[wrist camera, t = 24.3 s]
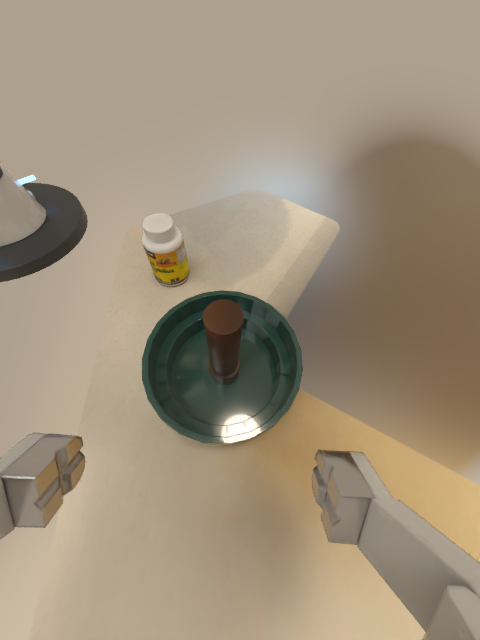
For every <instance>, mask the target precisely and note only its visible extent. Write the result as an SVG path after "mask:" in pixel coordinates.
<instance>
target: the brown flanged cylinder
mask: <svg viewBox="0 0 480 640" xmlns="http://www.w3.org/2000/svg"><path fill="white" fill-rule="evenodd" d="M243 321H244V314H243V311H242V309H241V307H240V306H239V305H238V304H236V303H235V302H233V301H230V300H224V299H222V300H217V301H214V302H212V303H210V304H209V305H208V306H207V307H206V309H205V310H204V313H203V322H204V328H205V333H206V339H207V344H208V350H209V356H210V359H209V369H210V374H211V377H212V379H213V380H214V381H215V382H216V383H218V384H221V385H228V384H231V383H233V382H234V381H235V380H236V379H237V377H238V374H239V369H240V359H239V351H240V343H241V336H242V328H243Z"/></svg>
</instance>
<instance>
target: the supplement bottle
mask: <svg viewBox="0 0 480 640" xmlns="http://www.w3.org/2000/svg"><path fill="white" fill-rule="evenodd" d="M142 227H143V230H144V232H143V234H142V244H143V246H144V249H145V251H146V254H147V256H148V259H149V261H150V264H151V266H152V269H153V271H154V274H155V276H156V278H157V280H158V281H159V282H160V283H161V284H163V285H166V286H177V285H180V284H182V283H183V282H185V281H186V279H187V278H188V276H189V266H188V261H187V256H186V251H185V246H184V241H183V236H182V233H181V231H180V230H179V229H178V228H177V227H175V226H174V223H173V220H172V218H171V217H170V216H168V215H166V214H162V213H156V214H151V215H149V216H147V217H146V218H145V219H144V220H143V222H142Z"/></svg>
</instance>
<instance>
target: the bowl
mask: <svg viewBox="0 0 480 640" xmlns="http://www.w3.org/2000/svg"><path fill="white" fill-rule="evenodd" d="M222 299H224V300H230V301H233V302H235V303H236V304H238V305H239V306H240V307H241V309H242V311H243V314H244V321H243V328H242V336H241V343H240V351H239V359H240V369H239V374H238V377H237V379H236V380H235V381H234V382H233V383H231V384H228V385H221V384H218V383H216V382H215V381H214V380H213V379H212V377H211V374H210V369H209V359H210V356H209V350H208V344H207V339H206V333H205V328H204V322H203V313H204V310H205V309H206V307H207V306H208V305H209V304H210V303H212V302H214V301H217V300H222ZM302 370H303V369H302V357H301V349H300V346H299V343H298V341H297V338H296V335H295V333H294V331H293V329H292V328H291V327H290V325H289V324H288V322H287V321H286V319H285V318H284V317H283V316H282V315H281V314H280V313H279V312H278V311H277V310H276V309H274V308H273V307H272V306H271V305H269V304H268V303H266V302H264V301H262V300H260V299H259V298H257V297H254V296H251V295H247V294H244V293H241V292H234V291H214V292H207V293H202V294H199V295H196V296H194V297H191V298H188V299H186V300H184V301H183V302H181V303H180V304H178V305H176V306H175V307H173V308H172V309H170V310H169V311H168V312H167V313H166V314H165V315H164V316H163V317H162V318H161V319H160V320H159V322H158V323H157V324H156V326H155V328H154V329H153V331H152V333H151V334H150V336H149V338H148V340H147V343H146V347H145V350H144V354H143V357H142V381H143V384H144V387H145V391H146V394H147V397H148V400H149V402H150V403H151V405H152V406H153V408H154V409H155V411H156V412H157V414H158V415H159V417H160V418H161V419H162V420H163V421H164V422H165V423H167V424H168V425H169V426H170V427H172V428H173V429H174V430H175V431H177V432H178V433H179V434H181V435H184V436H186V437H189V438H192V439H194V440H197V441H200V442H202V443H206V444H213V445H231V444H236V443H240V442H244V441H247V440H250V439H252V438H254V437H256V436H257V435H259V434H261V433H263V432H264V431H266V430H268V429H269V428H271V427H273V426H274V425H275V424H276V423H277V422H278V421H279V420H280V419H281V417H282V416H283V415H284V414H285V413H286V412H287V411H288V410H289V409H290V407H291V405H292V403H293V401H294V399H295V397H296V395H297V393H298V391H299V386H300V381H301V376H302Z"/></svg>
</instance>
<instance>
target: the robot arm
mask: <svg viewBox="0 0 480 640" xmlns="http://www.w3.org/2000/svg"><path fill="white" fill-rule="evenodd" d="M35 179H36V178H35V177H34V175H31V176H29V177H26V178H23V179H20V180H17V179H16V178H15V177H14V176H13V175H12V174H11V172H10V171H9V170H8V169H7V168H6V167H5V166H4V165H3V164H2V163H1V162H0V247H1V246H5V245H8V244H11V243H14V242H17V241H20V240H22V239H24V238H26V237H28V236H29V235H31V234H32V233H34V232H35V231H36V230H38V229H39V228H40V227H41V226H42V224H43V223H44V221H45V219H46V210H45V208H44V207H43V206H42V205H41V204H40V203H39V202H37V201H36V197H35V196H34V195H33V193H32V192H31V191H28V190H26V189H25V188H24V187H23V186H22V184H25V183H27V182H30V181H32V180H35ZM82 446H83V441H82V437H79V436H72V435H61V434H45V433H32V434H29V435H27V436H26V437H25V438H24V439H22V440H21V441H20V442H19V443H18V444H16V445H15V446H14V447H13V448H12V449H10V450H9V451H8V452H7V453H5V454H4V455H3V456H2V457H0V540H1V539H2V538H3V537H5V536H6V535H7V534H8V533H10V532H11V531H12V530H14V527H44V528H45V527H46V526H47V524H48V523H49V522H50V520H51V519H52V518H53V516H54V515H55V513H56V512H57V511H58V510H59V508H60V507H61V505H62V504H63V496H64V495H65V494H67V493H68V492H70V491H71V490H73V489H74V488H75V486H76V485H77V483H78V482H79V480H80V478H81V476H82V474H83V471H84V468H85V456H84V455H83V454H82V453H81V452H80V449H81V448H82ZM315 460H316V463H317V466H316V467H315V468H314V469H313V473H312V488H313V493H314V497H315V500H316V503H317V504H318V505H319V506H320V507H321V508H322V514H321V519H322V522H323V525H324V529H325V532H326V535H327V538H328V541H329V542H331V543H343V544H354V545H358V546H357V547H358V548H359V549H360V550H361V552H362V553H363V554H364V555H365V557H366V558H367V559H368V560H369V562H370V563H371V564H372V565H373V567H374V568H375V569H376V570H377V572H378V573H379V574H380V575H381V577H382V578H383V579H384V580H385V582H386V583H387V584H388V585H389V587H390V588H391V589H392V590H393V592H394V593H395V594H396V595H397V597H398V598H399V599H400V600H401V602H402V603H403V604H404V605H405V607H406V608H407V609H408V610H409V612H410V613H411V614H412V615H413V617H414V618H415V619H416V620H417V622H418V623H419V624H420V625H421V627H422V628H423V629H424V630H425V632H426V633H425V635H424V637H423V639H422V640H480V562H478V561H477V560H476V559H474V558H473V557H472V556H471V555H469V554H468V553H467V552H465V551H464V550H463V549H462V548H460V547H459V546H458V545H456V544H455V543H454V542H453V541H451V540H450V539H449V538H447V537H446V536H445V535H444V534H442V533H441V532H440V531H438V530H437V529H436V528H435V527H433V526H432V525H431V524H430V523H428V522H427V521H426V520H424V519H423V518H422V517H421V516H419V515H418V514H417V513H415V512H414V511H413V510H412V509H410V508H409V507H408V506H406V505H405V504H404V503H403V502H401V501H400V500H396V499H394V498H393V497H392V495H391V494H390V492H389V491H388V489H387V488H386V486H385V484H384V483H383V481H382V480H381V478H380V477H379V475H378V474H377V472H376V471H375V469H374V468H373V466H372V465H371V463H370V461H369V460H368V458H367V457H366V455H365V454H364V453H362V452H353V451H347V452H346V451H330V450H318V451H317V453H316V457H315Z"/></svg>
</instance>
